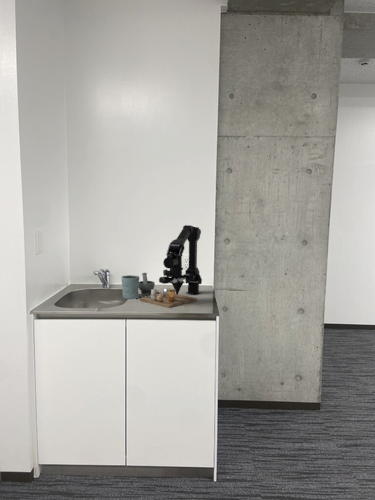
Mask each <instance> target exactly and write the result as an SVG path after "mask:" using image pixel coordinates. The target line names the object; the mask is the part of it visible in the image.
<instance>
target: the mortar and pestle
mask: <svg viewBox="0 0 375 500" xmlns="http://www.w3.org/2000/svg"><path fill="white" fill-rule="evenodd" d="M147 273H148V272H142V274H141V276H142V280H139V288H138V290H140V294H141V295H142V296H146V295H147V296H151V289H155V284H156V283H155V281H153V280H148V276H147Z"/></svg>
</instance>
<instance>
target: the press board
mask: <svg viewBox="0 0 375 500" xmlns="http://www.w3.org/2000/svg"><path fill="white" fill-rule="evenodd" d="M157 293H158V289H156V288H154V289H151V294H150V295H149V296H147V297H142V298H139V302H142V303H147V304H151V305H155V306H159V307H164V308H168V309H169V308H174V307H178V306H181V305H186V304H189V303H193V302H197V301H198V298H197V297H192V296H189V295H184V294H179V293H178V295H177V294H176V293H175V301H173V302H170V301H169V300H168V299H167V298H166V297H165V296H163V293H159V294H157ZM158 295H162V296H163V300H162V301H158V300H157V296H158Z"/></svg>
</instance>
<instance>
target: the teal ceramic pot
mask: <svg viewBox="0 0 375 500" xmlns="http://www.w3.org/2000/svg"><path fill="white" fill-rule="evenodd" d="M139 282H140V275H131V274H130V275H127V274H126V275H122V276H121V288H122V298H123V299H125V300H135V299H136V300H137V299H138V298H139Z"/></svg>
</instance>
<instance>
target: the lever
mask: <svg viewBox="0 0 375 500" xmlns="http://www.w3.org/2000/svg"><path fill="white" fill-rule="evenodd" d="M162 294H163V296H165V297H166V298H167V299H168V300H169V301H170V302H173V301H175V294H176V292H175V289H173V288H169V287H163V288H162Z"/></svg>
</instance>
